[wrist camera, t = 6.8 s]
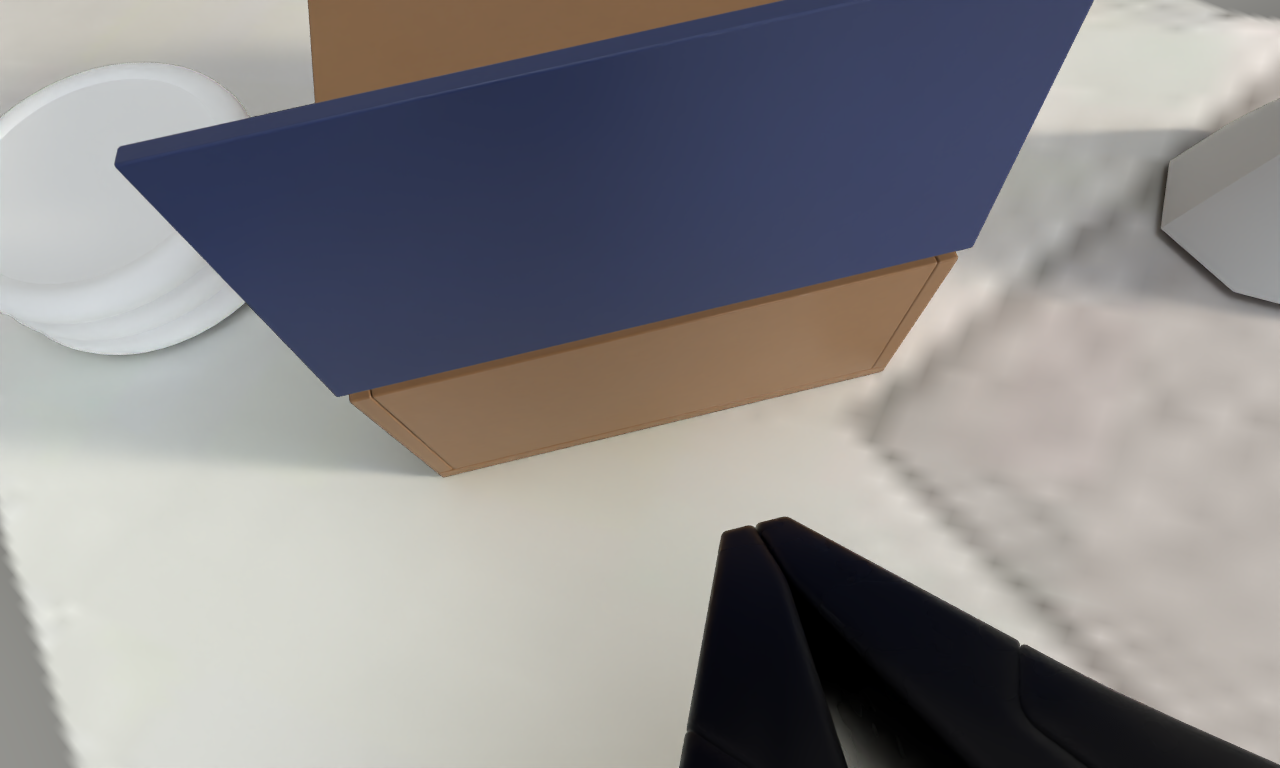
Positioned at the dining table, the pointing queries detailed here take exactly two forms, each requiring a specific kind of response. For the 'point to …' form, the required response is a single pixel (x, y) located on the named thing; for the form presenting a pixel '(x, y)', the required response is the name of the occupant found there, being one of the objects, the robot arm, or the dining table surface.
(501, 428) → the carton
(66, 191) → the white round disc
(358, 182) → the flap
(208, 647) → the dining table surface
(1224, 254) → the flask
